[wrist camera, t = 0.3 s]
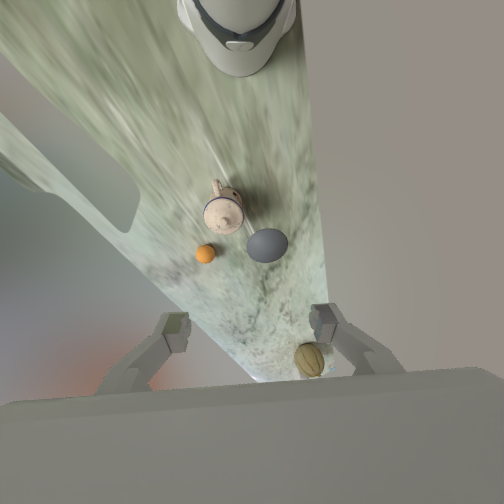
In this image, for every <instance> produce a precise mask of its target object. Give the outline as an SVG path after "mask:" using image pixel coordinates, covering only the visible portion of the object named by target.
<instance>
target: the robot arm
mask: <svg viewBox="0 0 504 504" xmlns="http://www.w3.org/2000/svg"><path fill="white" fill-rule="evenodd" d="M177 9H178V15H179V18H180V20H181V22H182V24H183V25H184V26H185V27H186V28H187V29H188V30H189V31H190V32H191V33H192V34H193V35H194V36H196V38H197V39H198V41H199V42H200V44H201V46H202V48H203V49H204V51H205V53H206V54H207V56H208V57H209V59H210V60H211V61H212V62H213V64H214V65H215V66H216V67H217V68H219V69H220V70H221V71H223V72H224V73H226V74H229V75H231V76H236V77H244V76H249V75H251V74H253V73H255V72H257V71H258V70H259V69H261V68H262V67H263V66H264V65H265V63H266V62H267V61H268V59H269V58H270V56H271V55H272V53H273V51H274V49H275V47H276V45H277V43H278V41H279V39H280V38H281V37H282V36H283V35H284V34H286V33H287V32H288V31H289V29H290V28H291V27H292V25H293V24H294V21H295V17H296V0H177ZM310 309H311V312H310V313H309V322H310V325H311V328H312V329H314V330H315V331H314V335H315V338H316V340H317V343H331V344H332V345H333V346H334V347H335V348H336V349H337V350H338V351H339V352H341V354H343V356H344V357H345V358H346V359H347V360H349V361H350V362H351V363H352V364H353V365H354V366H355V367H356V369H355V371H354V373H353V375H352V376H347V377H346V376H345V377H333V378H319V379H305V380H292V381H279V382H265V383H252V384H239V385H226V386H212V387H199V388H186V389H172V390H159V391H152V389H151V387H150V386H149V384H148V382H149V381H150V379H151V378H152V377H153V376H154V375H155V373H156V372H157V371H158V370H159V369H160V367H161V366H162V365H163V364H164V363H165V361H166V360H167V359H168V358H169V357H170V355H171V353H181V352H185V351H186V348H187V344H188V339H187V338H188V337H189V336H190V333H191V320H189V319H188V318H189V313H188V312H169V313H163V314H162V315H161V317H160V319H159V321H158V323H157V325H156V327H155V329H154V332H153V334H152V335H151V336H148V337H147V338H146V339H145V340H143V341H142V342H141V343H140V344H139V345H137V346H136V347H135V348H134V349H133V350H131V351H130V352H129V353H128V354H127V355H125V356H124V357H123V358H122V359H121V360H120V361H118V362H117V363H116V364H115V365H113V366H112V367H111V368H110V369H109V371H108V373H107V374H106V376H105V377H104V379H103V381H102V383H101V384H100V386H99V387H98V389H97V391H96V392H95V394H94V395H93V396H79V397H66V398H52V399H39V400H23V401H14V402H9V403H6V404H4V405H2V406H0V504H504V379H502V378H500V377H498V376H496V375H495V374H492V373H490V372H488V371H486V370H484V369H481V368H477V367H465V368H452V369H439V370H425V371H412V372H406V371H405V369H404V368H403V367H402V365H401V364H400V363H399V362H398V360H397V359H396V357H395V356H394V355H393V354H392V352H391V351H390V350H389V349H388V348H386V347H385V346H384V345H382V344H381V343H379V342H378V341H376V340H375V339H373V338H372V337H370V336H369V335H367V334H366V333H364V332H363V331H361V330H360V329H358V328H357V327H355V326H354V325H352V324H351V323H348V322H347V321H346V319H345V318H344V316H343V314H342V313H341V311H340V310H339V308H338V307H337V305H336V304H335V303H327V304H326V303H325V304H312V305H311V308H310Z"/></svg>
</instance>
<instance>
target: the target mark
mask: <svg viewBox="0 0 504 504" xmlns="http://www.w3.org/2000/svg"><path fill="white" fill-rule="evenodd" d="M286 249H287V239H286V237H285V236H284V235H283V234H282V233H281V232H280V231H278V230H275V229H263V230H260V231H257V232H256V233H254V234H253V235H252V236H251V237H250V238H249V240H248V243H247V252H248V254H249V256H250V257H251V258H252V259H253V260H255V261H257V262H261V263H269V262H273V261H276V260H278V259H279V258H281V257H282V256H283V255H284V253H285V252H286Z"/></svg>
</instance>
